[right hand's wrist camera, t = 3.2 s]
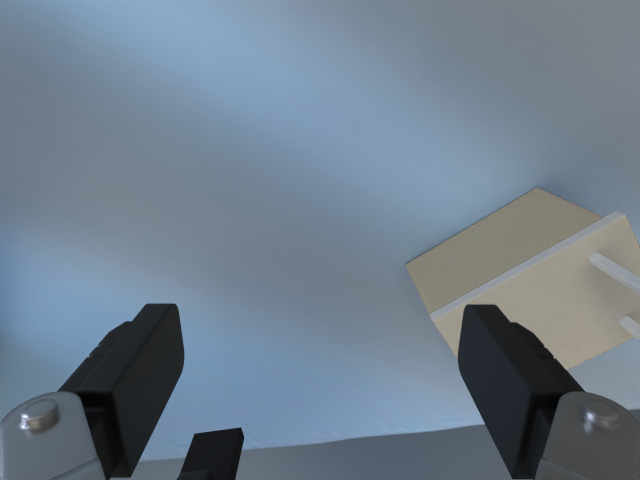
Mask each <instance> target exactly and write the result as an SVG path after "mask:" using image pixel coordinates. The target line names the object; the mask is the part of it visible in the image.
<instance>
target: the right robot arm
mask: <svg viewBox="0 0 640 480" xmlns="http://www.w3.org/2000/svg"><path fill="white" fill-rule="evenodd" d="M183 365H184V346H183V339H182V331H181V324H180V317H179V310H178V307H177V305H176V304H146V305H145V306H144V307H143V308H142V310H141V311H140V312H139V313H138V315H137V316H136V317H135V318H134V319H133V321H126V322H124V323H123V324H121V325H120V326H118V327H116V328H115V329H113V330H112V331H110V332H109V333H108V334H107V335H106V336H105V337H104V339H103V340H102V341H101V342H100V343H99V344H98V347H96V348H95V349H94V350H93V351H92V352H91V353H90V355H89V357H87V358H86V359H85V360H84V361H83V363H82V364H81V365H80V366H79V367H78V368H77V369H76V371H75V372H74V373H73V374H72V375H71V376H70V377H69V379H68V380H67V381H66V382H65V383H64V384H63V386H62V387H61V388H60V389H59V390H58V391H57V392H51V393H47V394H43V395H40V396H37V397H35V398H32V399H30V400H28V401H26V402H24V403H22V404H20V405H19V406H17V407H16V408H14V409H13V410H12V411H11V412H9V413H8V414H7V415H6V416H5V417H4V418H3V420H2V421H1V423H0V480H109V479H110V478H130V477H131V475H132V473H133V471H134V469H135V467H136V465H137V463H138V461H139V459H140V457H141V455H142V453H143V451H144V449H145V447H146V445H147V443H148V441H149V439H150V437H151V435H152V433H153V431H154V429H155V426H156V424H157V422H158V420H159V418H160V416H161V414H162V412H163V410H164V408H165V406H166V404H167V402H168V400H169V398H170V396H171V394H172V392H173V390H174V388H175V386H176V384H177V382H178V380H179V377H180V375H181V373H182V370H183ZM458 365H459V370H460V373H461V376H462V378H463V380H464V382H465V384H466V386H467V388H468V390H469V392H470V394H471V396H472V398H473V400H474V402H475V404H476V406H477V408H478V410H479V412H480V414H481V416H482V418H483V420H484V422H485V424H486V426H487V428H488V430H489V432H490V434H491V437H492V439H493V441H494V443H495V445H496V447H497V449H498V451H499V453H500V455H501V457H502V459H503V461H504V463H505V465H506V467H507V469H508V471H509V473H510V475H511V477H512V479H533V480H640V423H639V421H638V420H637V419H636V417H635V416H634V415H633V414H632V413H631V412H629V411H628V410H627V409H626V408H624V407H623V406H621V405H620V404H618V403H616V402H614V401H612V400H610V399H608V398H605V397H603V396H600V395H597V394H593V393H589V392H585V391H584V390H583V389H582V387H581V386H580V385H579V384H578V383H577V382H576V381H575V379H574V378H573V377H572V376H571V375H570V374H569V373H568V371H567V370H566V369H565V368H564V367H563V366H562V365H561V364H560V362H559V361H558V360H557V359H556V358H554V356H553V354H552V353H551V352H550V351H549V350H548V349H547V348H545V347H544V344H543V343H542V342H541V341H540V340H539V339H538V337H537V336H536V335H535V334H534V333H533V332H531V331H530V330H528V329H527V328H525V327H523V326H522V325H520V324H519V323H517V322H510V321H509V320H508V318H507V317H506V316H505V315H504V313H503V312H502V311H501V310H500V309H499V307H498V306H497V305H495V304H467V305H466V306H465V308H464V312H463V318H462V326H461V333H460V340H459V348H458Z"/></svg>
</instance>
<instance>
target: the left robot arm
mask: <svg viewBox="0 0 640 480" xmlns="http://www.w3.org/2000/svg"><path fill="white" fill-rule="evenodd" d="M243 441H244V435H243V432H242V429H241V428H233V429H226V430H219V431H211V432H204V433H197V434H194V437H193V439H192V442H191V445H190V448H189V450H188V453H187V456H186V459H185V462H184V464H183V467H182V470H181V473H180V475H179V477H178V478H177V480H235V478H236V473H237V469H238V464H239V459H240V455H241V450H242V446H243Z"/></svg>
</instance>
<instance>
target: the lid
mask: <svg viewBox="0 0 640 480" xmlns="http://www.w3.org/2000/svg"><path fill="white" fill-rule="evenodd" d="M467 304H495V305H497V306H498V307H499V309H500V310H501V311H502V312H503V313H504V315H505V316H506V317H507V318H508V320H509V321H510V322H517V323H519V324H520V325H522V326H523V327H525V328H527V329H528V330H530V331H531V332H533V333H534V334H535V335H536V336H537V337H538V339H539V340H540V341H541V342H542V343H543V344H544V347H545V348H547V349H548V350H549V351H550V352H551V353H552V354H553V356H554V358H556V359H557V360H558V361H559V362H560V364H561V365H562V366H563V367H564V368H565V369H566V370H568V369H570V368H572V367H574V366H576V365H579V364H581V363H583V362H585V361H587V360H589V359H591V358H593V357H595V356H597V355H599V354H601V353H603V352H605V351H607V350H609V349H611V348H613V347H615V346H618V345H620V344H622V343H624V342H626V341H628V340H630V339H632V338H634V337H635V338H637V339H638V340H639V341H640V246H639V244H638V242H637V239H636V237H635V235H634V232H633V230H632V228H631V225H630V223H629V221H628V218H627V216H626V215H625V214H623V213H621V212H618V211H615V212H613V213H611V214H609V215H608V216H606V217H604V218H602V219H600V220H598V221H597V222H595V223H593V224H591V225H589V226H588V227H586V228H584V229H582V230H580V231H579V232H577V233H575V234H573V235H571V236H570V237H568V238H566V239H564V240H562V241H561V242H559V243H557V244H555V245H553V246H552V247H550V248H548V249H546V250H544V251H542V252H541V253H539V254H537V255H535V256H533V257H532V258H530V259H528V260H526V261H524V262H523V263H521V264H519V265H517V266H515V267H514V268H512V269H510V270H508V271H506V272H505V273H503V274H501V275H499V276H497V277H495V278H494V279H492V280H490V281H488V282H486V283H485V284H483V285H481V286H479V287H477V288H476V289H474V290H472V291H470V292H468V293H467V294H465V295H463V296H461V297H459V298H458V299H456V300H454V301H452V302H450V303H448V304H447V305H445V306H443V307H441V308H439V309H438V310H436V311H434V312H432V313H430V317H431V319H432V321H433V322H434V324H435V325H436V327H437V329H438V330H439V332H440V333H441V335H442V336H443V338H444V339H445V341H446V342H447V344H448V345H449V347H450V348H451V350H452V351H453V353H454V354H455V356H456V357H457V359H458V348H459V340H460V333H461V326H462V318H463V312H464V308H465V306H466V305H467Z"/></svg>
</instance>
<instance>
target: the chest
mask: <svg viewBox="0 0 640 480" xmlns="http://www.w3.org/2000/svg"><path fill="white" fill-rule="evenodd" d="M602 218H603V217H602V216H599V215H597V214H595V213H593V212H591V211H588V210H586V209H584V208H582V207H580V206H577V205H575V204H573V203H571V202H568V201H566V200H564V199H562V198H560V197H557V196H555V195H553V194H551V193H548V192H546V191H544V190H542V189H539V188H535V189H533V190H531V191H530V192H528V193H526V194H525V195H523V196H521V197H519V198H518V199H516V200H514V201H513V202H511V203H509V204H507V205H506V206H504V207H502V208H501V209H499V210H497V211H496V212H494V213H492V214H490V215H489V216H487V217H485V218H484V219H482V220H480V221H479V222H477V223H475V224H473V225H472V226H470V227H468V228H467V229H465V230H463V231H462V232H460V233H458V234H456V235H455V236H453V237H451V238H450V239H448V240H446V241H445V242H443V243H441V244H439V245H438V246H436V247H434V248H433V249H431V250H429V251H427V252H426V253H424V254H422V255H421V256H419V257H417V258H416V259H414V260H412V261H410V262H409V263H407V264H406V267H407V270H408V272H409V274H410V276H411V278H412V280H413V282H414V284H415V286H416V288H417V290H418V292H419V294H420V296H421V298H422V300H423V302H424V305H425V307H426V309H427V311H428V313H429V315H430V313H432V312H434V311H436V310H438V309H439V308H441V307H443V306H445V305H447V304H448V303H450V302H452V301H454V300H456V299H458V298H459V297H461V296H463V295H465V294H467V293H468V292H470V291H472V290H474V289H476V288H477V287H479V286H481V285H483V284H485V283H486V282H488V281H490V280H492V279H494V278H495V277H497V276H499V275H501V274H503V273H505V272H506V271H508V270H510V269H512V268H514V267H515V266H517V265H519V264H521V263H523V262H524V261H526V260H528V259H530V258H532V257H533V256H535V255H537V254H539V253H541V252H542V251H544V250H546V249H548V248H550V247H552V246H553V245H555V244H557V243H559V242H561V241H562V240H564V239H566V238H568V237H570V236H571V235H573V234H575V233H577V232H579V231H580V230H582V229H584V228H586V227H588V226H589V225H591V224H593V223H595V222H597V221H598V220H600V219H602Z"/></svg>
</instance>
